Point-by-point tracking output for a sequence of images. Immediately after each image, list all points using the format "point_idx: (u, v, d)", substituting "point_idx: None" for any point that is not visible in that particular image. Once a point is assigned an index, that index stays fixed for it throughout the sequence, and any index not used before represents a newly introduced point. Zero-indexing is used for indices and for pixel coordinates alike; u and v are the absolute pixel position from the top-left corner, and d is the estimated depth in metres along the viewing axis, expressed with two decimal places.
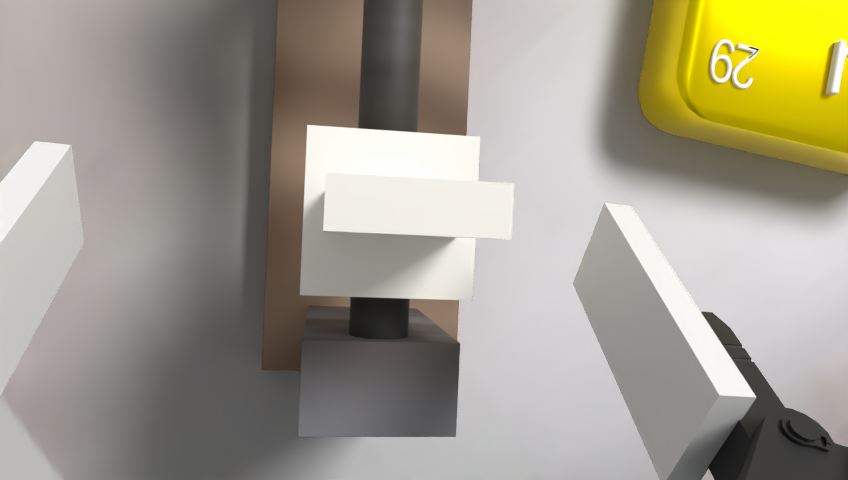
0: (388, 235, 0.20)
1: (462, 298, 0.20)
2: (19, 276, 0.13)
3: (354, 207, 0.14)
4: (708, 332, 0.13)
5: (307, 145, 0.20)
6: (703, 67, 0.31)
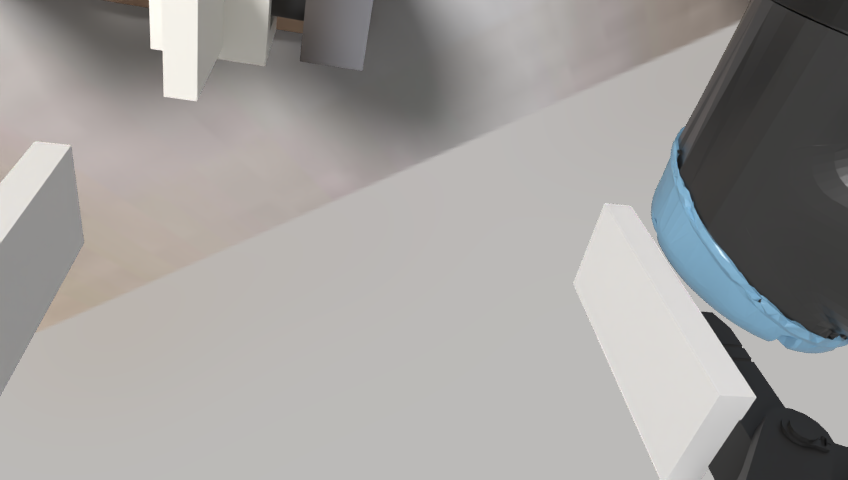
0: (224, 4, 0.29)
1: None
2: (19, 276, 0.13)
3: (182, 83, 0.24)
4: (708, 332, 0.13)
5: None
6: None
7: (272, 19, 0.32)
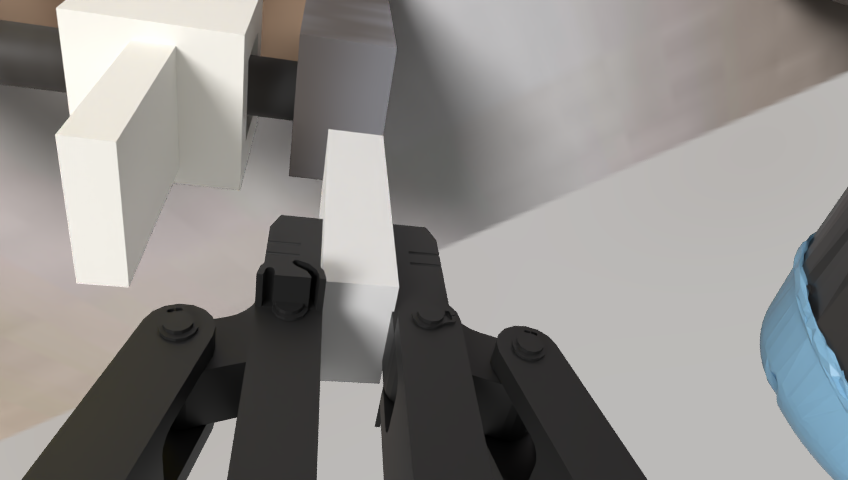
0: (178, 113, 0.20)
1: (242, 45, 0.19)
2: None
3: (104, 265, 0.16)
4: (387, 236, 0.14)
5: None
6: None
7: (250, 116, 0.24)
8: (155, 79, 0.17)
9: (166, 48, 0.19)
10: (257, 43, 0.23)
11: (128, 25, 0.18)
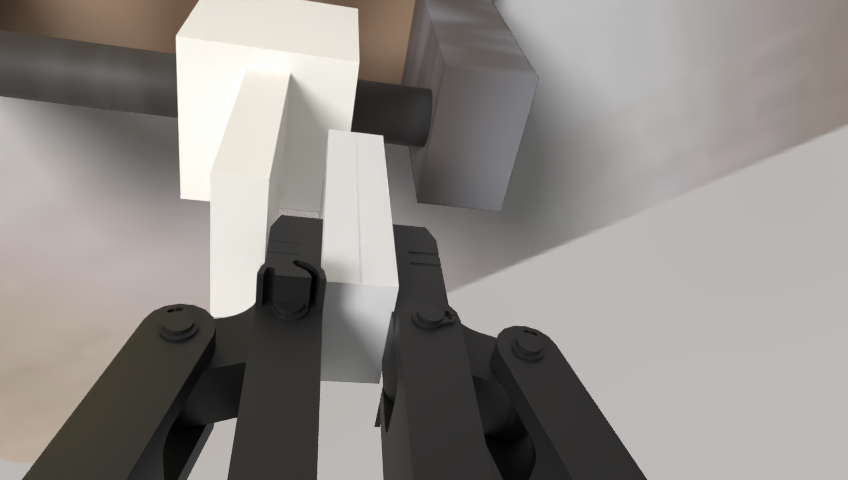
0: (286, 139, 0.20)
1: (356, 72, 0.19)
2: None
3: (239, 299, 0.16)
4: (387, 236, 0.14)
5: (200, 198, 0.21)
6: None
7: None
8: (282, 109, 0.17)
9: (282, 76, 0.19)
10: None
11: (245, 53, 0.18)
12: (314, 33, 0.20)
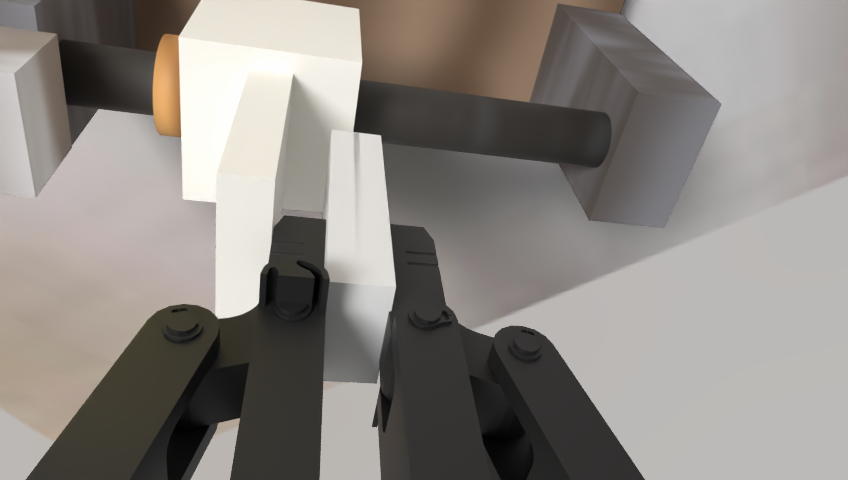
0: (289, 139, 0.20)
1: (359, 73, 0.19)
2: None
3: (245, 300, 0.16)
4: (384, 235, 0.14)
5: (202, 199, 0.21)
6: None
7: None
8: (286, 110, 0.17)
9: (285, 76, 0.19)
10: None
11: (248, 53, 0.18)
12: (316, 33, 0.20)
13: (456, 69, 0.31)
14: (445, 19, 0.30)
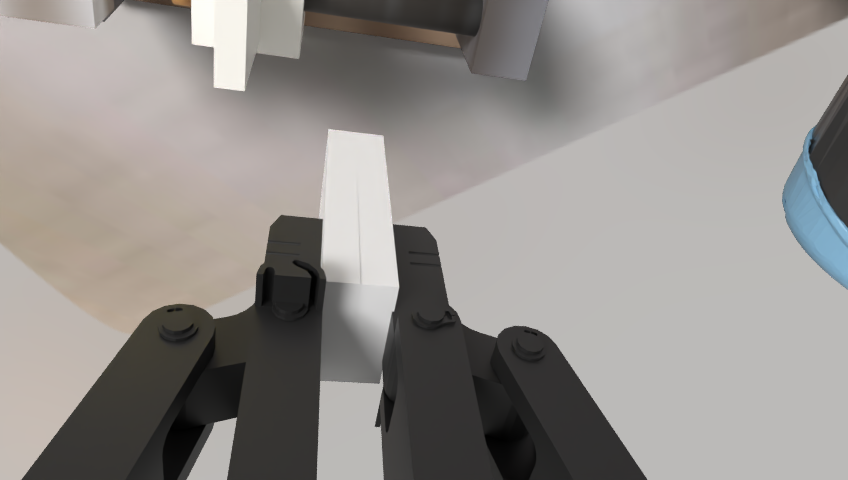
0: (261, 0, 0.30)
1: None
2: None
3: (231, 75, 0.26)
4: (387, 236, 0.14)
5: (205, 45, 0.31)
6: None
7: (302, 14, 0.34)
8: None
9: None
10: None
11: None
12: None
13: None
14: None
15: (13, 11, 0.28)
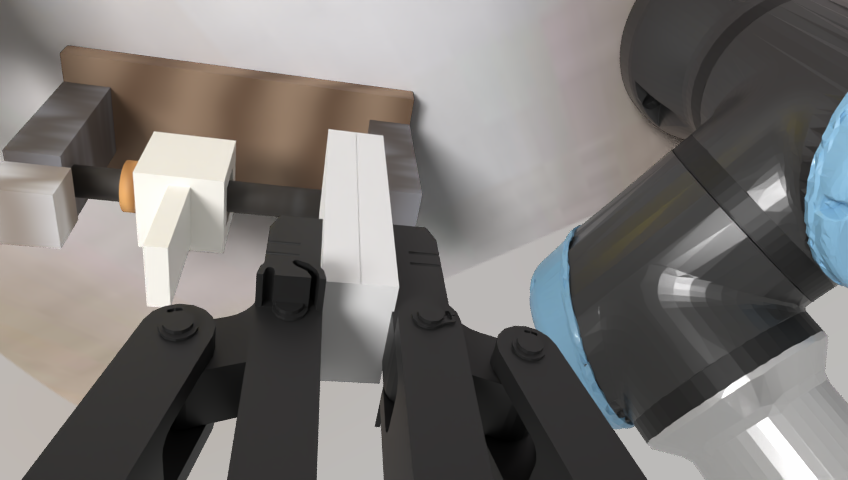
0: (191, 217, 0.40)
1: (223, 186, 0.39)
2: None
3: (159, 298, 0.35)
4: (387, 235, 0.14)
5: None
6: None
7: None
8: (181, 210, 0.36)
9: (185, 189, 0.38)
10: (232, 171, 0.43)
11: (167, 178, 0.38)
12: (205, 163, 0.40)
13: (312, 156, 0.50)
14: (302, 129, 0.49)
15: None
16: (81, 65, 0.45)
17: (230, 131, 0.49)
